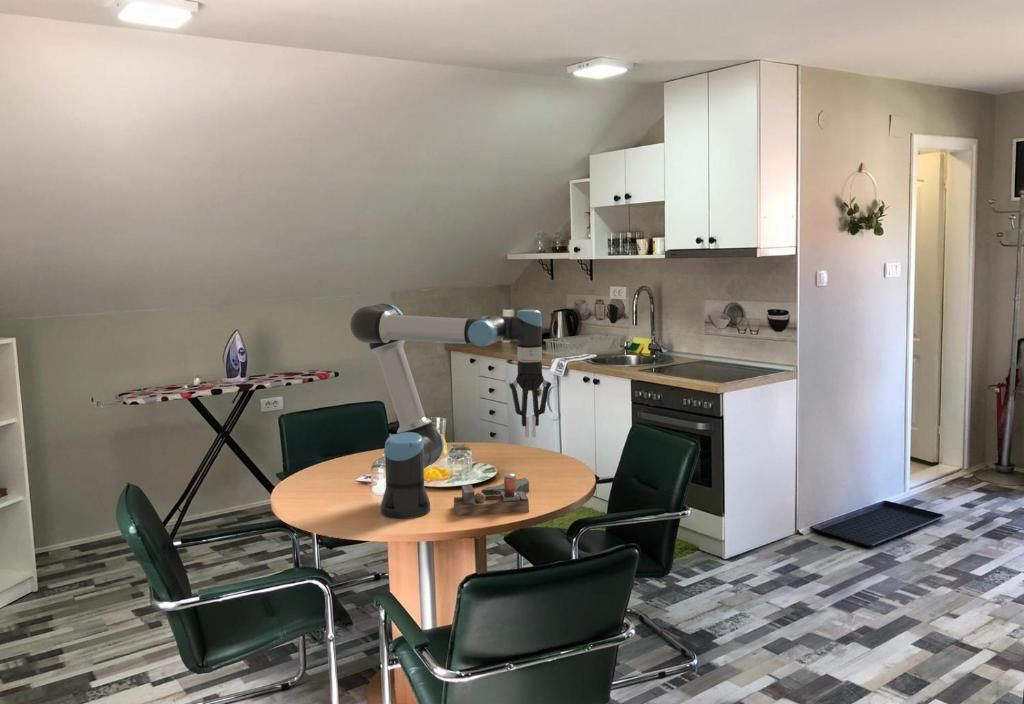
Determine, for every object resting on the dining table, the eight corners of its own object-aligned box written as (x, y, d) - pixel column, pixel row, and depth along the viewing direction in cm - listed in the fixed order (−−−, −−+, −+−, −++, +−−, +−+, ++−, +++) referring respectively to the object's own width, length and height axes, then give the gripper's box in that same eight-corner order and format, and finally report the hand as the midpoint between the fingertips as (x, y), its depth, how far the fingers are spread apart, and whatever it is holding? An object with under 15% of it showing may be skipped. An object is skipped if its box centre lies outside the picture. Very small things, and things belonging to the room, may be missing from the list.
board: (457, 516, 253) (456, 493, 252) (453, 507, 262) (453, 485, 261) (528, 512, 256) (528, 489, 255) (523, 502, 266) (523, 481, 265)
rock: (536, 498, 271) (536, 484, 271) (487, 503, 268) (487, 489, 267) (527, 489, 283) (526, 475, 282) (480, 493, 279) (479, 479, 279)
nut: (474, 505, 256) (474, 494, 256) (473, 502, 260) (472, 491, 259) (486, 505, 257) (486, 493, 256) (484, 501, 260) (484, 490, 260)
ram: (503, 504, 256) (503, 477, 255) (500, 498, 263) (500, 471, 262) (520, 503, 257) (519, 476, 256) (516, 497, 264) (515, 471, 263)
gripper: (508, 362, 251) (509, 440, 254) (555, 361, 253) (555, 438, 256) (504, 359, 258) (505, 434, 261) (550, 358, 261) (550, 432, 263)
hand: (530, 436), depth 259 cm, fingers closed
